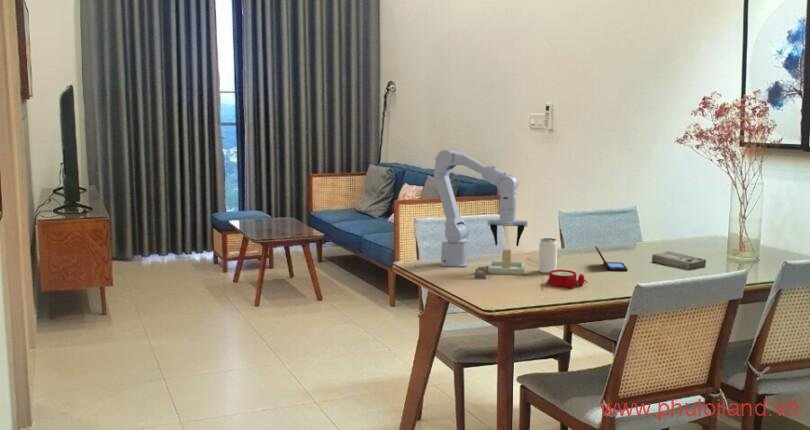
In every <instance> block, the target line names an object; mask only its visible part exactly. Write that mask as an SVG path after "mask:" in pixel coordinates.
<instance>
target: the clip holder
mask: <svg viewBox="0 0 810 430" xmlns="http://www.w3.org/2000/svg"><path fill="white" fill-rule="evenodd" d="M487 274H488V268H485V266H477V268H475V273H474V275H473V276H474V277H473V278H474V279H485V280H486V278H487Z"/></svg>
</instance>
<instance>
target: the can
mask: <svg viewBox="0 0 810 430" xmlns="http://www.w3.org/2000/svg"><path fill="white" fill-rule="evenodd" d="M538 245H539V246H538V247H539V248H538V272H540V273H542V274H549V273H550V271H552V270H557V265H558V264H557V261H558V259H557V258H558V242H557V239H556V238H551V237H550V238H549V237H543V238H540V242H539V243H538Z"/></svg>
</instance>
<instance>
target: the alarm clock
mask: <svg viewBox="0 0 810 430" xmlns="http://www.w3.org/2000/svg"><path fill="white" fill-rule="evenodd" d="M542 276H548V279H547V280H546V281H547V282H546V283H547V285H549V286H553V287H561V288H567V289H574V288H575V287H577V286H578V287H582V286H583V285H584V284H587V283H588V280H586V279H585V274H582V273H580V274H578V277H577V272H575V271H573V270H567V269H556V270H552V271H550V273H542ZM577 278H578V279H577Z"/></svg>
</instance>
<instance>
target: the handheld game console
mask: <svg viewBox="0 0 810 430" xmlns="http://www.w3.org/2000/svg"><path fill="white" fill-rule="evenodd" d="M595 249H596V251H597V253H598V255H599V256H600V258H601V259H602V262H603V263H602V265H603V266H604V267H605V269H606V271H607V272H628V268H627V266H626V265H625V264H624V262H617V261H615V262H614V261H610V262H609V261H606V260H605V258H604V257H603V254H602V253H601V251H600V250H599V248H598V247H597V246H595Z"/></svg>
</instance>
